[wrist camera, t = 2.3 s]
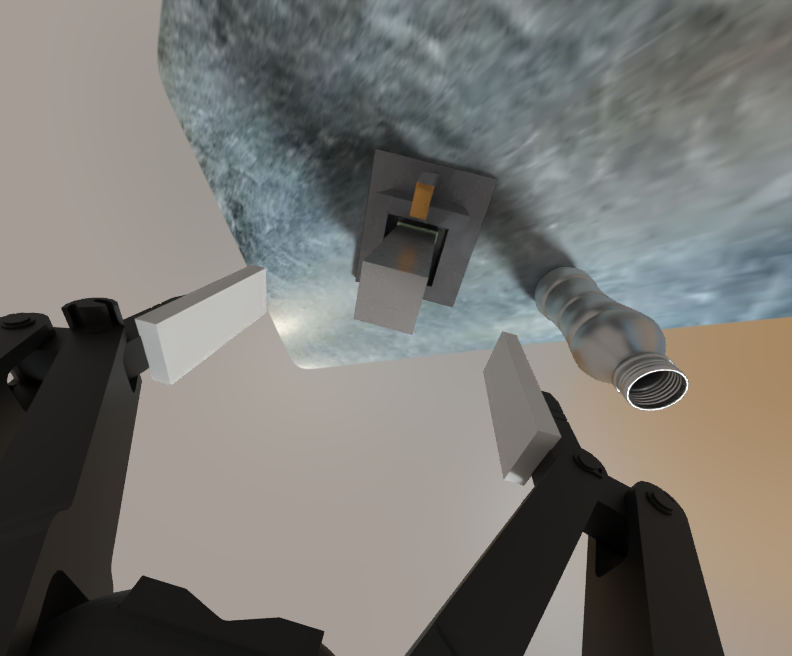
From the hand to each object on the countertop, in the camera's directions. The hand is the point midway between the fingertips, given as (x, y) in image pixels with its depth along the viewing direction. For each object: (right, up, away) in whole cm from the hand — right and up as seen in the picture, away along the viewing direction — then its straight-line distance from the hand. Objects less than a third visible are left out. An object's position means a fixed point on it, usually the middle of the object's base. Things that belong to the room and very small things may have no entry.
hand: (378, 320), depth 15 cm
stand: (+4, +12, +21) cm, 24 cm away
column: (+4, +11, +19) cm, 23 cm away
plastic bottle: (+22, +5, +21) cm, 31 cm away
